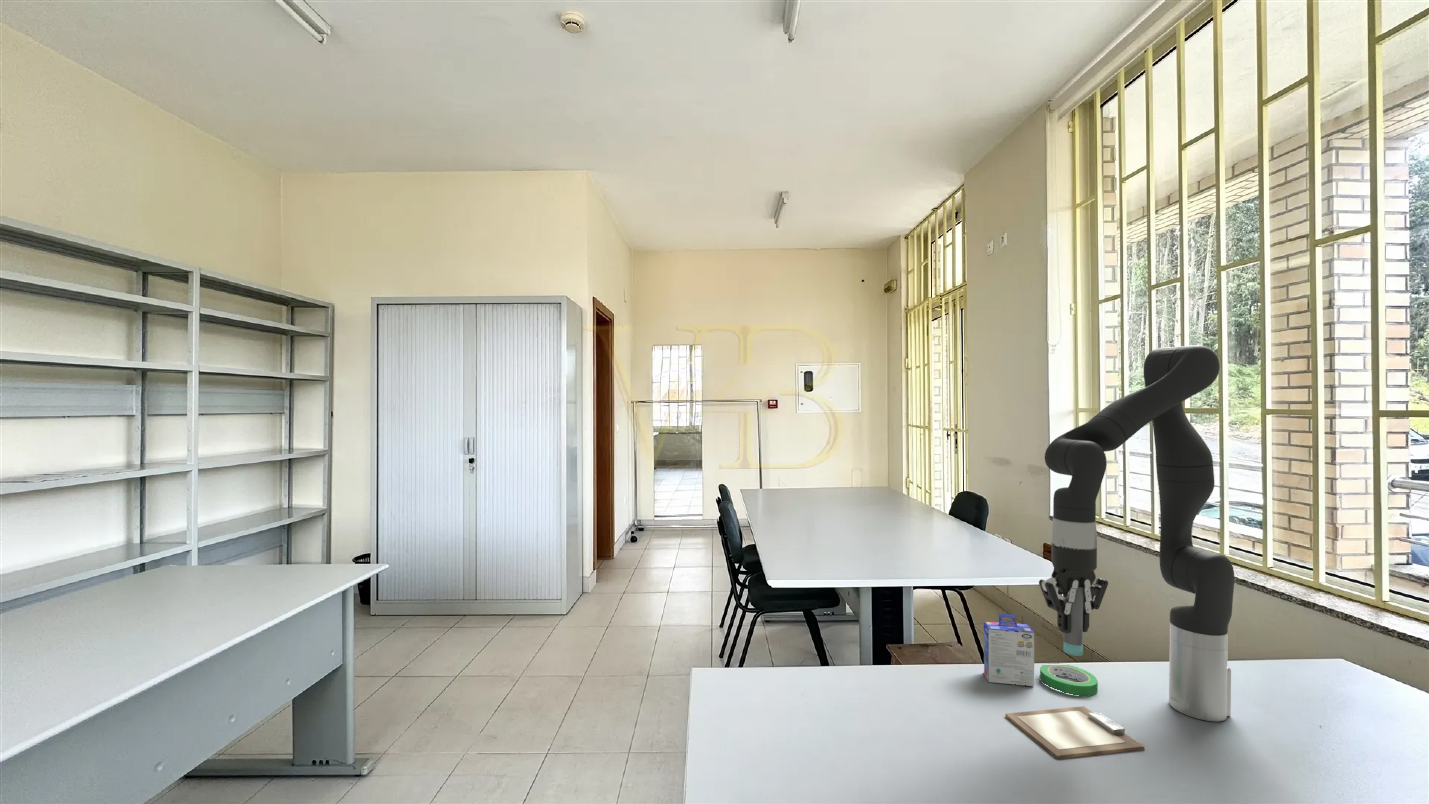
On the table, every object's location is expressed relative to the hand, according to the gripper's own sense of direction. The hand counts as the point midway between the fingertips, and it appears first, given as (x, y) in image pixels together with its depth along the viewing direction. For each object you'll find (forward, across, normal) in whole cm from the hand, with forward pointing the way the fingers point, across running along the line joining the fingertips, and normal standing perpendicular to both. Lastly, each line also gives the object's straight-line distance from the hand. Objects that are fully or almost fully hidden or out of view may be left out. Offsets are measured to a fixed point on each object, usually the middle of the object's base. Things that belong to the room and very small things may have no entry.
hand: (1073, 630), depth 113 cm
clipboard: (+19, +1, +1) cm, 19 cm away
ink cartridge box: (+19, -1, -20) cm, 28 cm away
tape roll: (+20, -13, -16) cm, 29 cm away
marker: (+4, 0, 0) cm, 4 cm away
